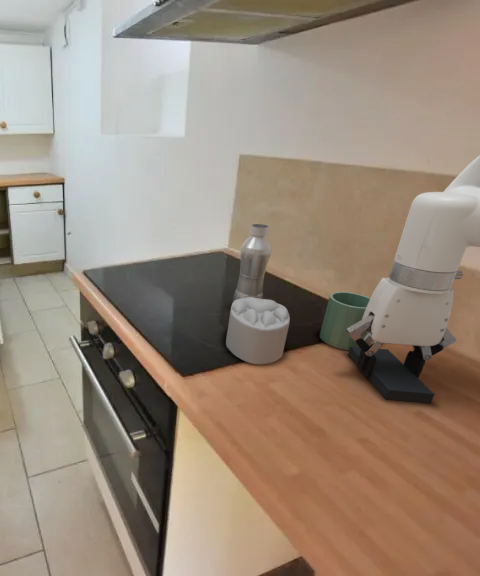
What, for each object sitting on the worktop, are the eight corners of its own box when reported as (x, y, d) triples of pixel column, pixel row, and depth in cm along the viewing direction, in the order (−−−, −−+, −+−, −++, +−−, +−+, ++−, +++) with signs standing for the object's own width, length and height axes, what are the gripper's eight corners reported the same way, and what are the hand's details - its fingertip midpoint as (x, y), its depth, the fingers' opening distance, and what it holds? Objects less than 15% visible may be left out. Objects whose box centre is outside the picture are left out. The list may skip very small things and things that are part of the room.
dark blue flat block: (384, 357, 70) (387, 349, 70) (430, 403, 58) (434, 393, 58) (347, 354, 71) (350, 346, 71) (385, 399, 59) (388, 389, 59)
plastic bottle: (263, 307, 90) (278, 224, 83) (257, 318, 85) (273, 231, 77) (235, 301, 94) (247, 221, 86) (228, 311, 88) (240, 227, 81)
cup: (353, 332, 79) (365, 292, 76) (372, 352, 72) (386, 309, 69) (313, 329, 80) (323, 290, 77) (328, 349, 73) (340, 306, 70)
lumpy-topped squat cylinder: (281, 335, 78) (289, 297, 74) (284, 369, 67) (294, 326, 63) (228, 326, 81) (233, 289, 78) (223, 357, 70) (229, 315, 67)
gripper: (465, 270, 60) (427, 366, 67) (347, 265, 62) (322, 357, 69) (505, 288, 53) (458, 392, 60) (371, 281, 56) (341, 382, 62)
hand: (386, 373), depth 65 cm, fingers closed on dark blue flat block, 6 cm apart
